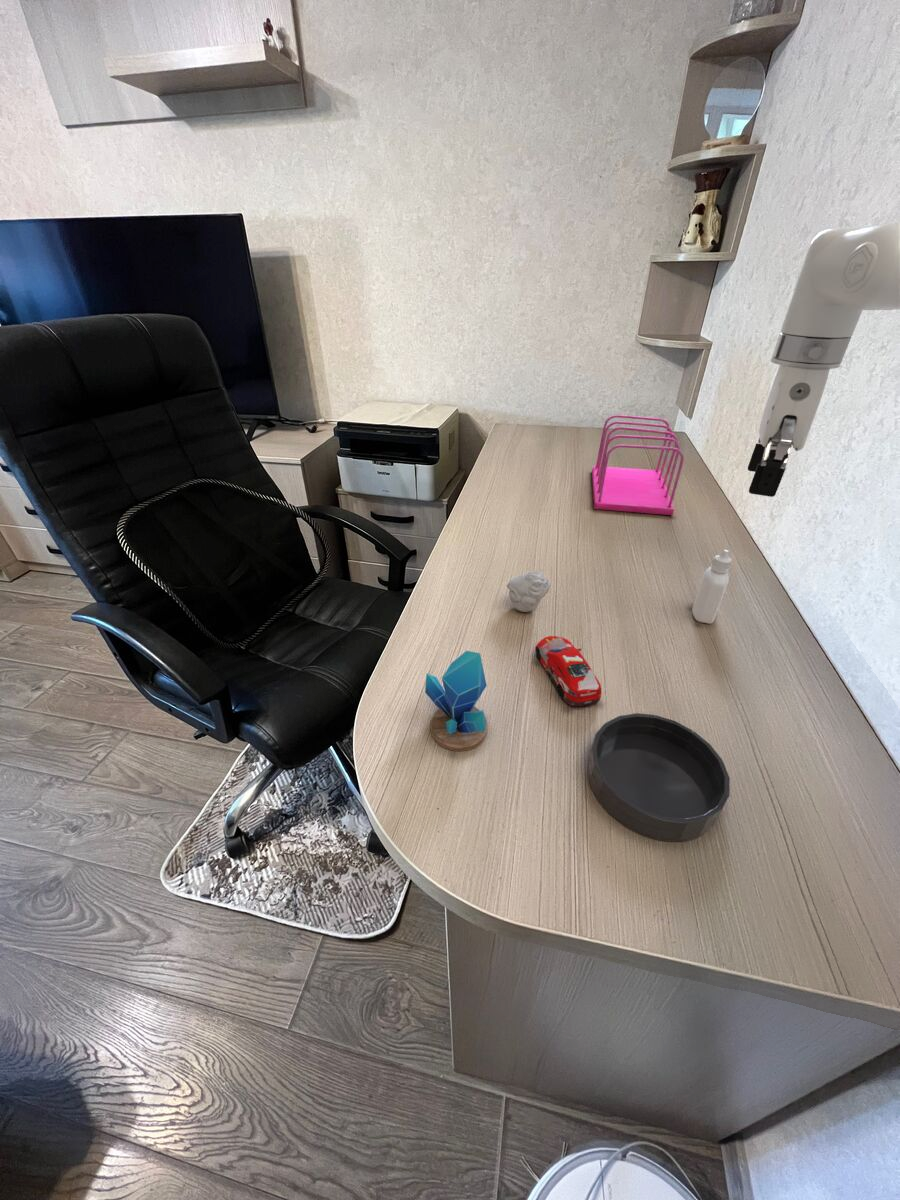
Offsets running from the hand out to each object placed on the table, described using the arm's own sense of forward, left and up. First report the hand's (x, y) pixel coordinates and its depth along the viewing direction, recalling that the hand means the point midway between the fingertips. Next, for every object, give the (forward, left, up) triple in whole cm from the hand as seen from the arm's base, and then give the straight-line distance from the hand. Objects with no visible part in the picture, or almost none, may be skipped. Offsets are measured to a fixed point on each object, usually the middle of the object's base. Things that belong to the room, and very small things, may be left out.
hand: (759, 482), depth 72 cm
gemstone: (+29, +42, -22) cm, 56 cm away
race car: (+19, +27, -22) cm, 40 cm away
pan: (+6, +40, -22) cm, 46 cm away
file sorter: (+21, -45, -22) cm, 54 cm away
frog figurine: (+29, +14, -22) cm, 39 cm away
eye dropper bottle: (+2, +3, -22) cm, 22 cm away
